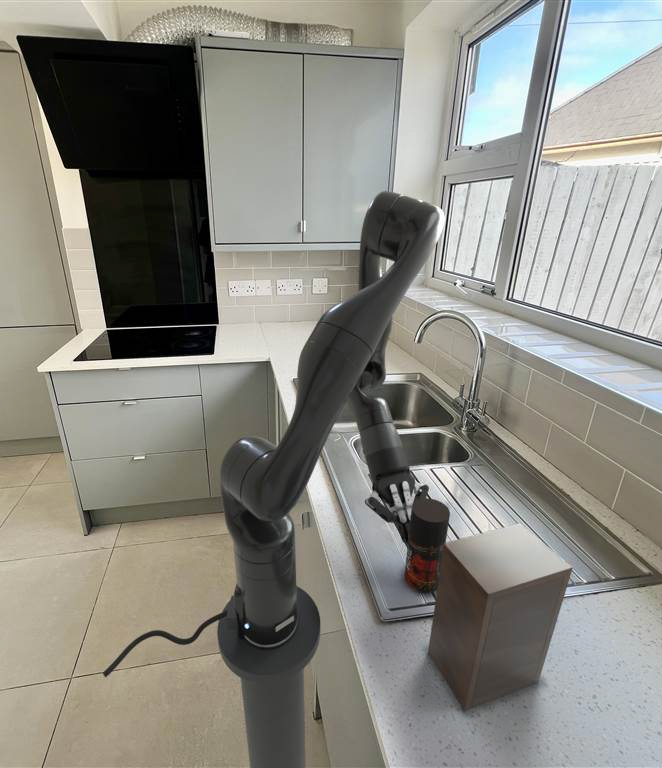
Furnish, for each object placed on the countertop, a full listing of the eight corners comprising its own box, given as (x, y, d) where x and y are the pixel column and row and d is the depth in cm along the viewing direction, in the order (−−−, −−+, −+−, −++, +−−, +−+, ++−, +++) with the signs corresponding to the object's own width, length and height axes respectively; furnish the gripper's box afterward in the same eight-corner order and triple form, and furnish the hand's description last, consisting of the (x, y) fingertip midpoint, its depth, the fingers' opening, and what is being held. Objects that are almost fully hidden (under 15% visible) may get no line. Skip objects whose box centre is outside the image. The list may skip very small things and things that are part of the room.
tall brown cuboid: (427, 652, 59) (443, 543, 51) (495, 628, 62) (519, 522, 55) (464, 711, 52) (488, 594, 44) (538, 681, 55) (573, 567, 48)
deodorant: (397, 573, 72) (404, 504, 67) (423, 561, 75) (431, 494, 69) (420, 599, 67) (429, 527, 62) (447, 585, 70) (458, 515, 64)
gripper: (358, 451, 73) (387, 552, 67) (422, 439, 77) (455, 534, 71) (346, 461, 80) (371, 554, 74) (405, 449, 84) (433, 537, 77)
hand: (412, 544), depth 72 cm, fingers closed
